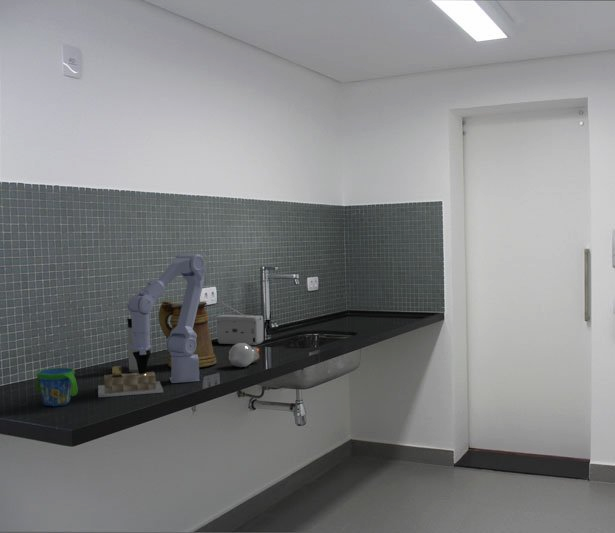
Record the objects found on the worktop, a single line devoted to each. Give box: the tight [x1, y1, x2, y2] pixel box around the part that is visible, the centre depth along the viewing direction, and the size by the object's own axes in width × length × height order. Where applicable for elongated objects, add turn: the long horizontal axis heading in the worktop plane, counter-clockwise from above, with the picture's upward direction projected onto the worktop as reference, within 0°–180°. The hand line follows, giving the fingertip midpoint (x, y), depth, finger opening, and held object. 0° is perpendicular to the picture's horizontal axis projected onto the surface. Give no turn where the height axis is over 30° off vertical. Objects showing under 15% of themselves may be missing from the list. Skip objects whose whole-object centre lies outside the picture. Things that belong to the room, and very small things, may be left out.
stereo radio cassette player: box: [216, 300, 264, 347], centre depth 332 cm, size 21×8×20 cm, turn 69°
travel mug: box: [126, 318, 139, 373], centre depth 269 cm, size 6×7×20 cm
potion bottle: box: [228, 343, 262, 368], centre depth 276 cm, size 9×10×15 cm
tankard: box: [158, 300, 217, 368], centre depth 279 cm, size 18×24×25 cm
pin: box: [111, 365, 122, 377], centre depth 234 cm, size 3×3×4 cm
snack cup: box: [35, 367, 79, 407], centre depth 217 cm, size 16×10×10 cm
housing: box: [103, 371, 157, 392], centre depth 235 cm, size 16×7×4 cm, turn 106°
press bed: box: [97, 380, 164, 398], centre depth 235 cm, size 20×14×1 cm
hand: (142, 373), depth 236 cm, fingers closed
